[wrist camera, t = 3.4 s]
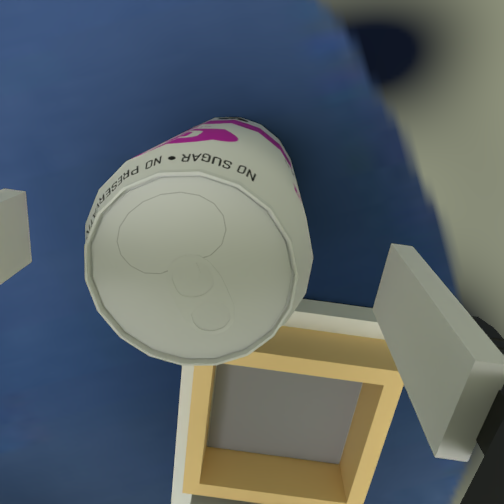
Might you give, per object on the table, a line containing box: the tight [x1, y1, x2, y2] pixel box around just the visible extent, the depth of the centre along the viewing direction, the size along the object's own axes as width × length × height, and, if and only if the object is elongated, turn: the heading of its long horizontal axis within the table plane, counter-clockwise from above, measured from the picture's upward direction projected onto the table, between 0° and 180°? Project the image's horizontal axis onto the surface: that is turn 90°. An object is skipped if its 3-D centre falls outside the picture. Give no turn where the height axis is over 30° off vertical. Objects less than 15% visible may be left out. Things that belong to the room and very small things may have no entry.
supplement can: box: [84, 117, 313, 366], centre depth 20 cm, size 8×8×15 cm
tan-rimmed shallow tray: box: [171, 299, 404, 504], centre depth 31 cm, size 22×16×7 cm
